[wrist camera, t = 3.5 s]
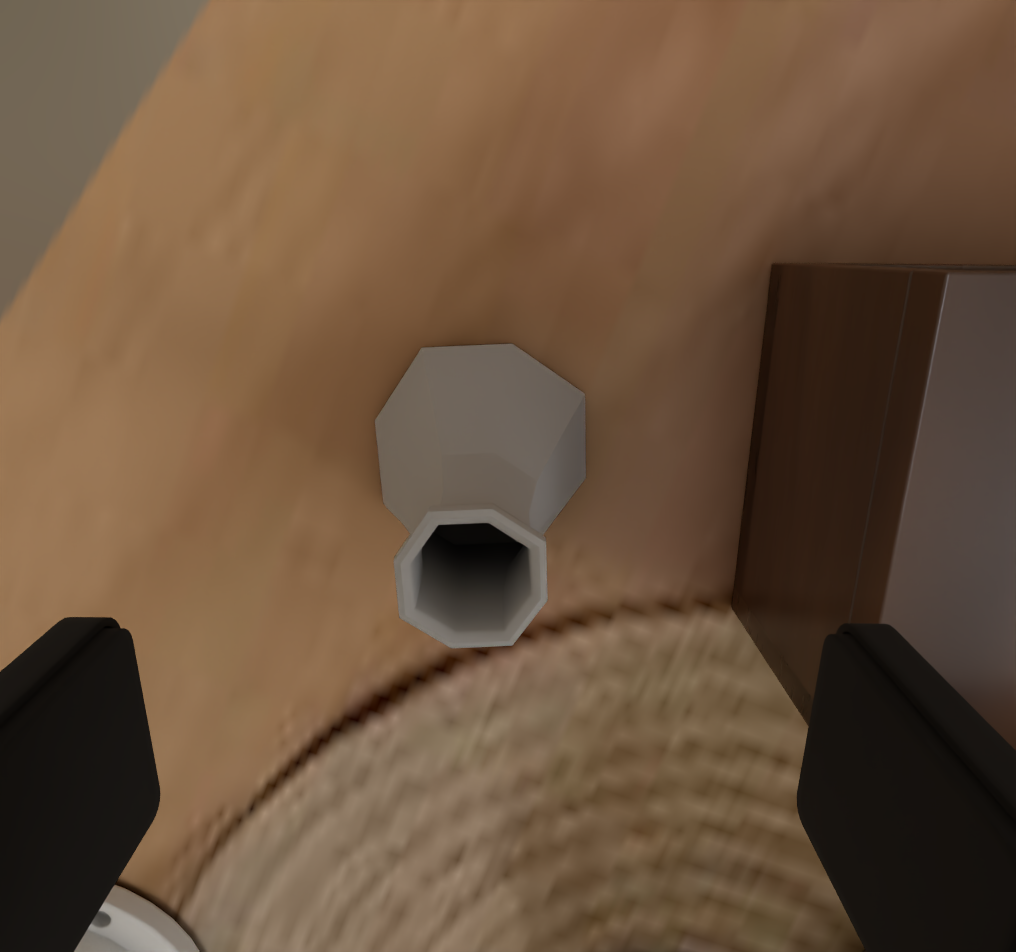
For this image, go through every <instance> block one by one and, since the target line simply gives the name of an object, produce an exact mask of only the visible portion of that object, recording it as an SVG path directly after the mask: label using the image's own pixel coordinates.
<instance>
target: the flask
mask: <svg viewBox="0 0 1016 952" xmlns="http://www.w3.org/2000/svg"><path fill="white" fill-rule="evenodd" d="M375 428H376V438H377V447H378V457H379V467H380V477H381V486H382V496H383V503H384V505H385V506H386V507H387V509H388V510H390V511H391V512H392V513H393V514H394V515H395V516H396V517H397V518H398V519H399V520H400V521H401V522H402V524H403V525H404V526H405V527H406V529H407V530H408V531H409V533H410V535H409V536H408V538H407V539H406V541H405V542H404V544H403V545H402V547H401V548H400V549H399V551H398V552H397V554H396V555H395V557H394V569H395V579H396V589H397V599H398V609H399V618H400V619H402V620H404V621H406V622H407V623H409V624H411V625H412V626H414V627H416V628H418V629H419V630H421V631H423V632H424V633H426V634H428V635H430V636H431V637H433V638H435V639H436V640H438V641H440V642H442V643H443V644H445V645H447V646H448V647H450V648H468V647H490V646H512V645H513V644H514V643H515V641H516V640H517V639H518V638H519V636H520V635H521V634H522V632H523V631H524V630H525V629H526V627H527V626H528V625H529V623H530V622H531V621H532V620H533V618H534V617H535V616H536V614H537V613H538V612H539V611H540V609H541V608H542V607H543V605H544V604H545V603H546V602H547V600H548V597H547V561H546V538H545V537H544V536H543V534H544V533H545V532H546V530H547V529H548V528H549V526H550V525H551V524H552V522H553V521H554V520H555V518H556V517H557V516H558V514H559V513H560V512H561V510H562V509H563V508H564V506H565V505H566V504H567V502H568V501H569V500H570V498H571V497H572V496H573V494H574V493H575V492H576V490H577V489H578V488H579V486H580V485H581V484H582V483H583V481H584V480H585V479H586V433H585V393H583V392H582V391H580V390H579V389H577V388H576V387H574V386H573V385H572V384H570V383H569V382H567V381H566V380H564V379H563V378H561V377H560V376H559V375H557V374H556V373H554V372H553V371H551V370H550V369H548V368H547V367H545V366H544V365H543V364H541V363H540V362H538V361H537V360H535V359H534V358H532V357H531V356H530V355H528V354H527V353H525V352H524V351H522V350H521V349H519V348H518V347H517V346H515V345H514V344H491V345H468V346H446V347H423V348H421V350H420V351H419V353H418V354H417V356H416V357H415V359H414V360H413V362H412V364H411V365H410V367H409V368H408V370H407V371H406V373H405V374H404V376H403V378H402V379H401V381H400V382H399V384H398V385H397V387H396V388H395V390H394V391H393V393H392V395H391V396H390V398H389V399H388V401H387V402H386V404H385V405H384V407H383V409H382V410H381V412H380V413H379V415H378V416H377V418H376V419H375Z"/></svg>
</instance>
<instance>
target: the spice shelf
mask: <svg viewBox="0 0 1016 952" xmlns="http://www.w3.org/2000/svg"><path fill="white" fill-rule="evenodd" d="M732 609H733V611H734V612H735V614H736V615H737V617H738V619H739V620H740V622H741V623H742V625H743V626H744V628H745V629H746V631H747V632H748V634H749V635H750V637H751V639H752V640H753V642H754V643H755V645H756V646H757V648H758V649H759V651H760V652H761V654H762V655H763V657H764V659H765V660H766V662H767V663H768V665H769V666H770V668H771V669H772V671H773V672H774V674H775V675H776V677H777V679H778V680H779V682H780V683H781V685H782V686H783V688H784V689H785V691H786V692H787V694H788V695H789V697H790V699H791V700H792V702H793V703H794V705H795V706H796V708H797V709H798V711H799V712H800V714H801V715H802V717H803V719H804V720H805V722H806V723H807V725H808V726H809V722H810V717H811V711H812V705H813V699H814V694H815V688H816V682H817V677H818V671H819V665H820V660H821V654H822V648H823V644H824V640H825V638H826V637H827V635H829V634H836V632H837V630H838V628H839V627H840V625H842V624H844V623H873V624H889V625H891V626H892V627H893V628H895V629H896V630H897V631H898V632H899V633H900V634H901V635H902V636H903V637H904V638H905V639H906V640H907V641H908V642H909V643H910V644H911V645H912V646H913V647H914V648H915V649H916V650H917V652H918V653H919V654H920V655H921V656H922V657H923V658H924V659H925V660H926V661H927V662H928V663H929V664H930V665H931V666H932V667H933V668H934V669H935V670H936V671H937V672H938V673H939V674H940V675H941V676H942V677H943V678H944V679H945V680H946V681H947V682H948V683H949V684H950V685H951V686H952V687H953V688H954V689H955V690H956V691H957V692H958V693H959V694H960V695H961V696H962V697H963V698H964V699H965V700H966V701H967V702H968V703H969V704H970V705H971V706H972V707H973V708H974V709H975V710H976V711H977V712H978V713H979V714H980V715H981V716H982V717H983V718H984V719H985V720H986V721H987V722H988V723H989V724H990V725H991V726H992V727H993V728H994V729H995V730H996V731H997V732H998V733H999V734H1000V735H1001V736H1002V737H1003V738H1004V739H1005V740H1006V741H1007V742H1008V743H1009V744H1010V745H1011V746H1012V747H1013V748H1014V749H1015V750H1016V265H962V264H855V263H773V265H772V272H771V280H770V288H769V297H768V305H767V314H766V322H765V331H764V339H763V347H762V356H761V364H760V373H759V381H758V390H757V398H756V407H755V415H754V423H753V432H752V440H751V449H750V457H749V466H748V474H747V482H746V491H745V499H744V508H743V516H742V525H741V533H740V542H739V550H738V558H737V567H736V575H735V584H734V592H733V601H732Z"/></svg>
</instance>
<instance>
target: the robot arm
mask: <svg viewBox="0 0 1016 952" xmlns="http://www.w3.org/2000/svg"><path fill="white" fill-rule="evenodd" d="M159 802H160V786H159V780H158V775H157V769H156V764H155V759H154V753H153V748H152V742H151V737H150V731H149V726H148V720H147V715H146V709H145V704H144V699H143V693H142V688H141V682H140V677H139V671H138V666H137V660H136V655H135V649H134V644H133V639H132V636H131V634H130V632H129V631H128V630H127V629H124V628H120V625H119V624H118V623H117V621H116V620H115V619H113V618H105V617H68V618H64V619H62V620H61V621H59V622H58V623H57V624H55V625H54V626H53V627H52V628H51V629H50V630H48V631H47V632H46V633H45V634H44V635H43V636H41V637H40V638H39V639H38V640H37V641H36V642H34V643H33V644H32V645H31V646H30V647H29V648H27V649H26V650H25V651H24V652H23V653H22V654H20V655H19V656H18V657H17V658H16V659H15V660H14V661H12V662H11V663H10V664H9V665H8V666H7V667H5V668H4V669H3V670H2V671H1V672H0V952H200V951H199V950H198V948H197V947H196V945H195V943H194V942H193V940H192V939H191V937H190V936H189V935H188V934H187V933H186V932H185V931H184V930H183V929H182V928H181V927H180V926H179V924H178V923H177V922H176V921H175V920H174V919H173V918H172V917H170V916H169V915H168V914H166V913H165V912H164V911H162V910H161V909H160V908H158V907H157V906H156V905H154V904H153V903H152V902H150V901H148V900H146V899H144V898H142V897H140V896H139V895H137V894H135V893H133V892H131V891H129V890H127V889H125V888H123V887H120V886H117V885H115V883H116V881H117V880H118V878H119V876H120V875H121V873H122V871H123V870H124V868H125V867H126V865H127V863H128V862H129V860H130V858H131V857H132V855H133V853H134V852H135V850H136V848H137V847H138V845H139V843H140V842H141V840H142V838H143V837H144V835H145V833H146V832H147V830H148V829H149V827H150V825H151V824H152V822H153V820H154V818H155V816H156V813H157V810H158V807H159ZM797 807H798V813H799V817H800V820H801V822H802V825H803V827H804V829H805V831H806V833H807V835H808V837H809V839H810V841H811V843H812V845H813V847H814V849H815V851H816V853H817V855H818V857H819V859H820V861H821V863H822V865H823V867H824V869H825V871H826V873H827V875H828V877H829V879H830V881H831V883H832V885H833V887H834V889H835V890H836V892H837V894H838V896H839V898H840V900H841V902H842V904H843V906H844V908H845V910H846V912H847V914H848V916H849V918H850V920H851V922H852V924H853V926H854V928H855V930H856V932H857V934H858V936H859V938H860V940H861V942H862V944H863V946H864V948H865V950H866V952H1016V750H1015V749H1014V748H1013V747H1012V746H1011V745H1010V744H1009V743H1008V742H1007V741H1006V740H1005V739H1004V738H1003V737H1002V736H1001V735H1000V734H999V733H998V732H997V731H996V730H995V729H994V728H993V727H992V726H991V725H990V724H989V723H988V722H987V721H986V720H985V719H984V718H983V717H982V716H981V715H980V714H979V713H978V712H977V711H976V710H975V709H974V708H973V707H972V706H971V705H970V704H969V703H968V702H967V701H966V700H965V699H964V698H963V697H962V696H961V695H960V694H959V693H958V692H957V691H956V690H955V689H954V688H953V687H952V686H951V685H950V684H949V683H948V682H947V681H946V680H945V679H944V678H943V677H942V676H941V675H940V674H939V673H938V672H937V671H936V670H935V669H934V668H933V667H932V666H931V665H930V664H929V663H928V662H927V661H926V660H925V659H924V658H923V657H922V656H921V655H920V654H919V653H918V652H917V650H916V649H915V648H914V647H913V646H912V645H911V644H910V643H909V642H908V641H907V640H906V639H905V638H904V637H903V636H902V635H901V634H900V633H899V632H898V631H897V630H896V629H895V628H893V627H892V626H891V625H889V624H873V623H844V624H842V625H840V627H839V628H838V630H837V632H836V634H829V635H827V637H826V638H825V640H824V644H823V648H822V654H821V660H820V665H819V671H818V677H817V682H816V688H815V694H814V699H813V705H812V711H811V717H810V722H809V728H808V734H807V739H806V745H805V751H804V756H803V762H802V768H801V773H800V779H799V785H798V791H797Z"/></svg>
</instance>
